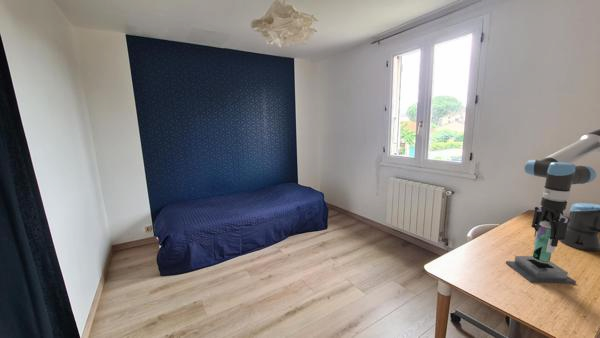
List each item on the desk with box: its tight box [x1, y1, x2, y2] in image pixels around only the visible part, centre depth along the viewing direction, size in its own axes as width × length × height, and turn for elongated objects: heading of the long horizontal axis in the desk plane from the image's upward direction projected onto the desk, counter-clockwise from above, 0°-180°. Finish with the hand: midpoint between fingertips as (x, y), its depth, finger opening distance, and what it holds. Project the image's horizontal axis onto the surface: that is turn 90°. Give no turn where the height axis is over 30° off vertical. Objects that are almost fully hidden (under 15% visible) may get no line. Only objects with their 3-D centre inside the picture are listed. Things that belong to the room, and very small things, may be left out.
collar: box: [505, 255, 577, 285], centre depth 110 cm, size 18×14×4 cm
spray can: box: [532, 219, 552, 263], centre depth 107 cm, size 6×6×20 cm
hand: (543, 248), depth 108 cm, fingers closed on spray can, 5 cm apart
